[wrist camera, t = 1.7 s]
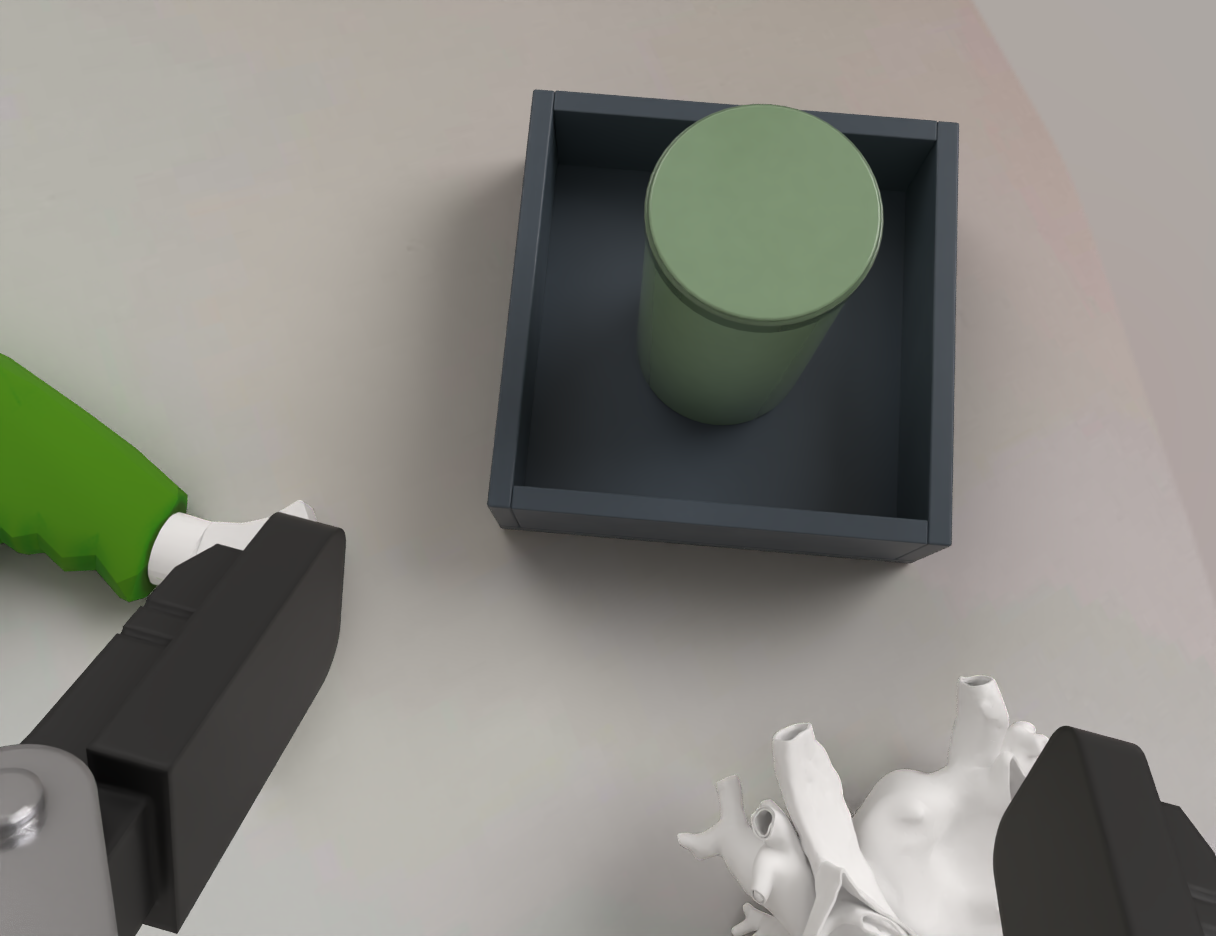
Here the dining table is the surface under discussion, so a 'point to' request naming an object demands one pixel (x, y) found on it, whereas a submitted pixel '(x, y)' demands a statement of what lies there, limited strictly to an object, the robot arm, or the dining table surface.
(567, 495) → the tray
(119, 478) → the spray bottle
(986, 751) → the heart
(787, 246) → the canister
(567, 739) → the dining table surface
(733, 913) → the dining table surface
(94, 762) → the robot arm
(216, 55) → the dining table surface
